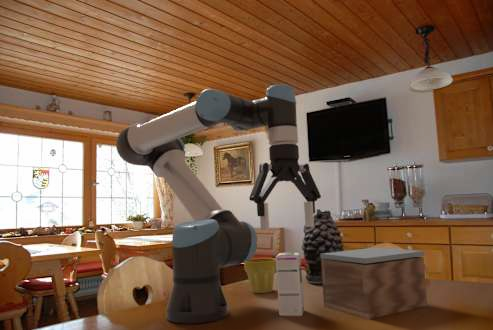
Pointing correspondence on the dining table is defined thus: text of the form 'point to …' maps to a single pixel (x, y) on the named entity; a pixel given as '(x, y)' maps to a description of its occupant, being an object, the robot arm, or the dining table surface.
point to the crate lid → (372, 255)
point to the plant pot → (261, 274)
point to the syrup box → (289, 284)
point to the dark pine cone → (320, 244)
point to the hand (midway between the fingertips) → (288, 228)
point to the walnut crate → (374, 286)
